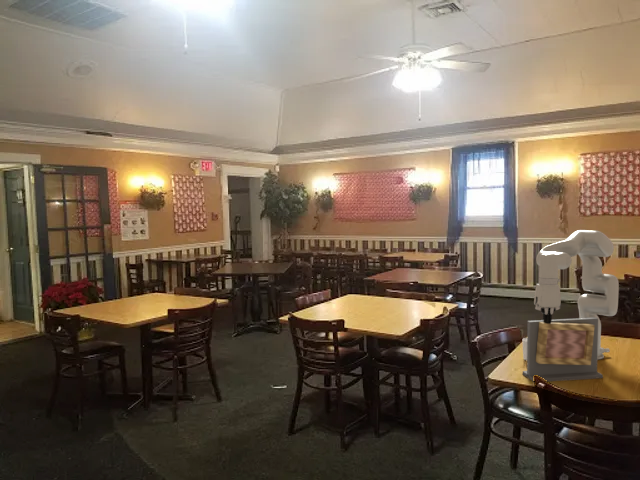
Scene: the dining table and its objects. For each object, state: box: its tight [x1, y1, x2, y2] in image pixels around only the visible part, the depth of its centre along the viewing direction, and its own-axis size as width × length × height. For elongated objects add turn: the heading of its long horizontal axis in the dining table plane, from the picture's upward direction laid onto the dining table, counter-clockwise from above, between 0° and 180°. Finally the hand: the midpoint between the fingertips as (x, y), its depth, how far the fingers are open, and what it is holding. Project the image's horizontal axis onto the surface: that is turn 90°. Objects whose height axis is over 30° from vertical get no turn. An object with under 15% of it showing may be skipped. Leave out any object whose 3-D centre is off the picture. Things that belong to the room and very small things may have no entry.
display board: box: [522, 317, 604, 382], centre depth 222 cm, size 32×10×26 cm, turn 95°
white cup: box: [522, 337, 527, 362], centre depth 246 cm, size 8×8×10 cm
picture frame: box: [536, 322, 595, 365], centre depth 219 cm, size 24×3×18 cm, turn 95°
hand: (547, 322), depth 217 cm, fingers closed
